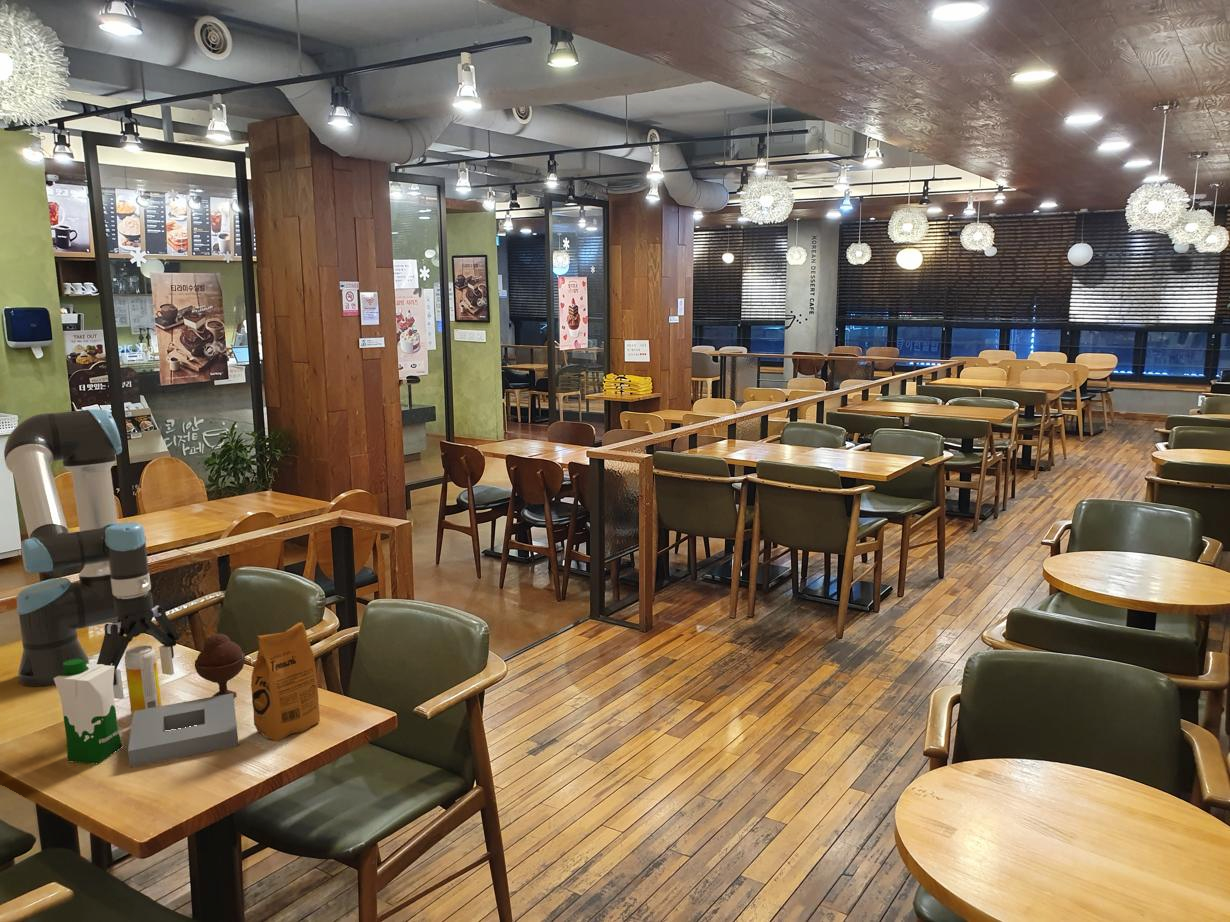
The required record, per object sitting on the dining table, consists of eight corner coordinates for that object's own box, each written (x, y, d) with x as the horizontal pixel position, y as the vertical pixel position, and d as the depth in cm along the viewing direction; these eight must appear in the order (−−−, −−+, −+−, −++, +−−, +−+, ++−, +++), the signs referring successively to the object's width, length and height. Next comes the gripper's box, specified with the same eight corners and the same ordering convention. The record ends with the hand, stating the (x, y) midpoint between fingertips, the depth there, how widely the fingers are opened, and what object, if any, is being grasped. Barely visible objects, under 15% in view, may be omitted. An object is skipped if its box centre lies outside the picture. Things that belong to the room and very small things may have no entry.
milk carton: (92, 743, 194) (80, 652, 190) (130, 746, 192) (118, 654, 188) (60, 763, 185) (46, 669, 182) (99, 767, 184) (86, 672, 180)
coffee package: (248, 731, 197) (238, 633, 193) (301, 710, 206) (293, 616, 203) (272, 745, 191) (262, 643, 187) (326, 723, 200) (317, 626, 196)
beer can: (151, 705, 211) (143, 643, 209) (167, 710, 208) (160, 647, 206) (126, 716, 206) (117, 652, 204) (142, 721, 203) (134, 657, 200)
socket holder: (135, 726, 201) (133, 711, 200) (234, 707, 209) (233, 693, 208) (130, 767, 183) (127, 751, 182) (238, 745, 191) (237, 729, 190)
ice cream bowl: (188, 706, 210) (180, 643, 208) (219, 686, 221) (213, 626, 218) (228, 709, 208) (222, 646, 205) (258, 689, 219) (252, 628, 216)
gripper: (95, 613, 189) (108, 710, 193) (189, 578, 212) (199, 666, 216) (68, 610, 192) (81, 706, 196) (165, 576, 215) (175, 662, 219)
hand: (143, 685), depth 206 cm, fingers open, 13 cm apart
